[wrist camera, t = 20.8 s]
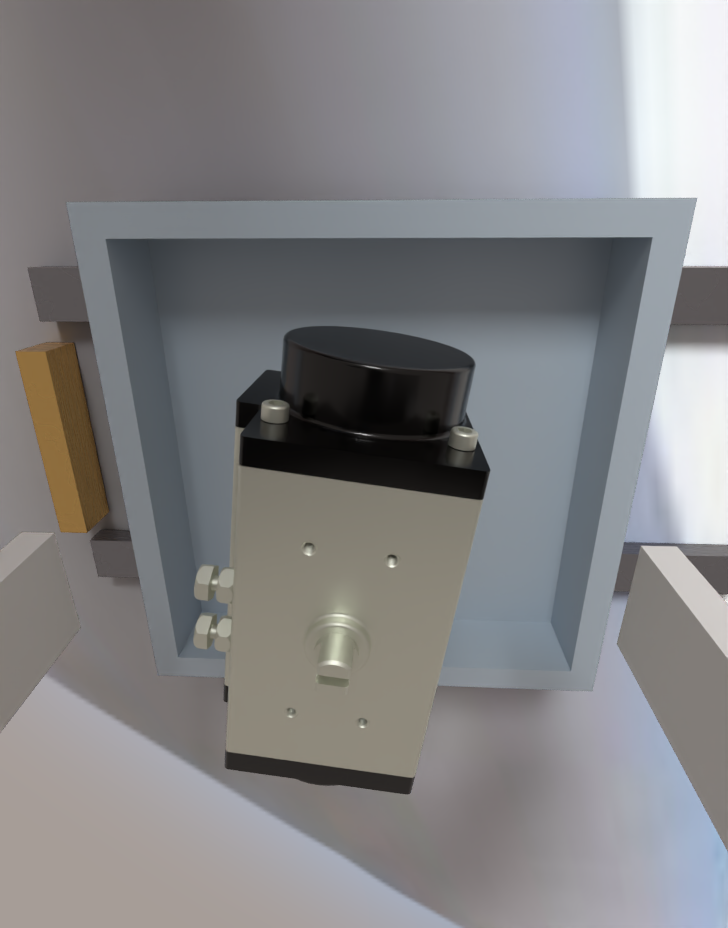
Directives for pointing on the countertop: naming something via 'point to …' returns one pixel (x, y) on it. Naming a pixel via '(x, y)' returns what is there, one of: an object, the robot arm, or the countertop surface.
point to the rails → (75, 457)
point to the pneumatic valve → (344, 554)
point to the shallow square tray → (412, 313)
